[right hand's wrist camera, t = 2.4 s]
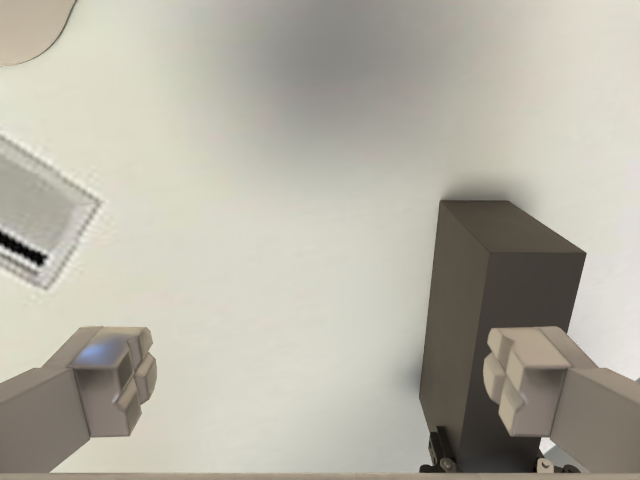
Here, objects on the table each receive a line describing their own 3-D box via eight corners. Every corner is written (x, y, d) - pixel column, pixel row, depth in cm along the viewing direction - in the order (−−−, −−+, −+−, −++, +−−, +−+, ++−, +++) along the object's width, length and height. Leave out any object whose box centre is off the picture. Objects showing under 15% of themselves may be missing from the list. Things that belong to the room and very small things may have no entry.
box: (439, 200, 39) (489, 252, 28) (508, 200, 39) (587, 252, 28) (418, 397, 47) (450, 501, 36) (475, 397, 47) (525, 501, 36)
